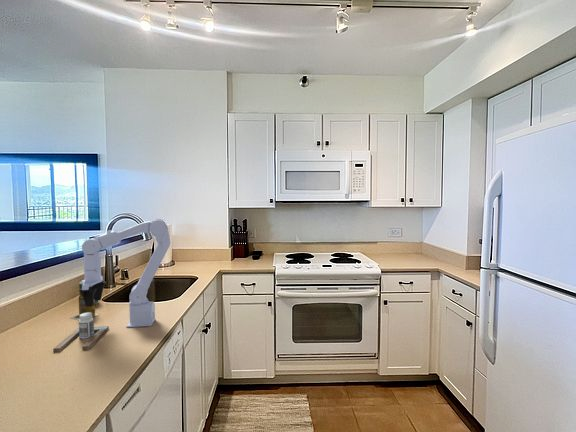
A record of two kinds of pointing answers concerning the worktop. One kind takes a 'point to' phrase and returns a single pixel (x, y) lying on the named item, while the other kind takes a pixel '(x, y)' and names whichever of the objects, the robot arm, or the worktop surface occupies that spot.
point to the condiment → (84, 308)
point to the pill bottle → (86, 325)
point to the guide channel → (74, 335)
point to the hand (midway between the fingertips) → (93, 303)
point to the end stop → (97, 328)
